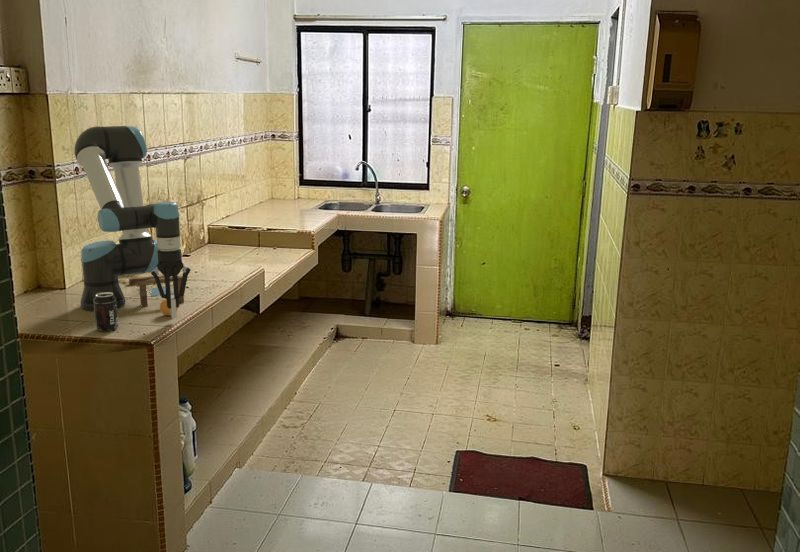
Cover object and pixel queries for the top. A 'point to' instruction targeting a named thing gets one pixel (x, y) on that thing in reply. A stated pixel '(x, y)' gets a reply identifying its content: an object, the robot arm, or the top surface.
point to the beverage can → (105, 311)
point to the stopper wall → (136, 280)
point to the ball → (165, 308)
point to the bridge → (152, 280)
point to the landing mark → (157, 291)
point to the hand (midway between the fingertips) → (173, 316)
